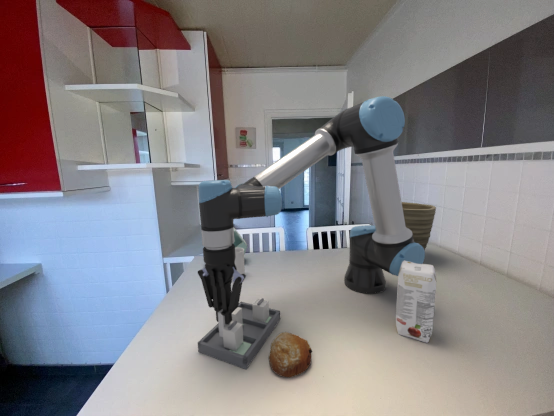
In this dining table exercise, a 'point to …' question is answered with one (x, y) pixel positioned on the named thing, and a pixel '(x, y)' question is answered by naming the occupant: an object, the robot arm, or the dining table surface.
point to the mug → (239, 260)
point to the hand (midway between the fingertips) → (225, 333)
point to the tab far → (260, 310)
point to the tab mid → (237, 315)
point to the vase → (419, 221)
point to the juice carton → (416, 300)
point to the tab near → (233, 335)
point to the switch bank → (252, 338)
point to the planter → (239, 241)
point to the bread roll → (289, 355)
